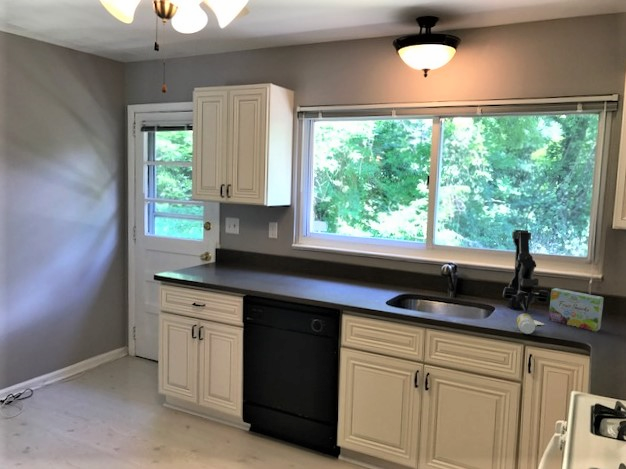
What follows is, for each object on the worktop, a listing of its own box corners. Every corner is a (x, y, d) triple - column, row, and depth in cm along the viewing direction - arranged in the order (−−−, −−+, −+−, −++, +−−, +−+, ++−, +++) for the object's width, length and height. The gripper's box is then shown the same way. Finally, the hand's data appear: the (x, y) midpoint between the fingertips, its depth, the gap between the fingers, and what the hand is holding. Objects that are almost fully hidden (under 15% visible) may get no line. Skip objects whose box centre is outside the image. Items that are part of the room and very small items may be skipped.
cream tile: (535, 321, 249) (535, 320, 249) (544, 325, 244) (544, 323, 244) (524, 322, 247) (524, 320, 247) (533, 325, 242) (533, 324, 242)
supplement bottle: (521, 330, 239) (524, 338, 226) (513, 316, 239) (516, 324, 227) (535, 323, 237) (539, 332, 224) (528, 310, 237) (531, 318, 225)
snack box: (547, 320, 252) (550, 289, 250) (552, 318, 256) (555, 287, 254) (596, 332, 237) (600, 298, 235) (600, 329, 241) (604, 296, 239)
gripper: (505, 269, 242) (505, 298, 233) (550, 273, 238) (552, 303, 229) (502, 283, 251) (502, 312, 242) (546, 287, 246) (547, 317, 237)
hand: (526, 311), depth 237 cm, fingers closed
